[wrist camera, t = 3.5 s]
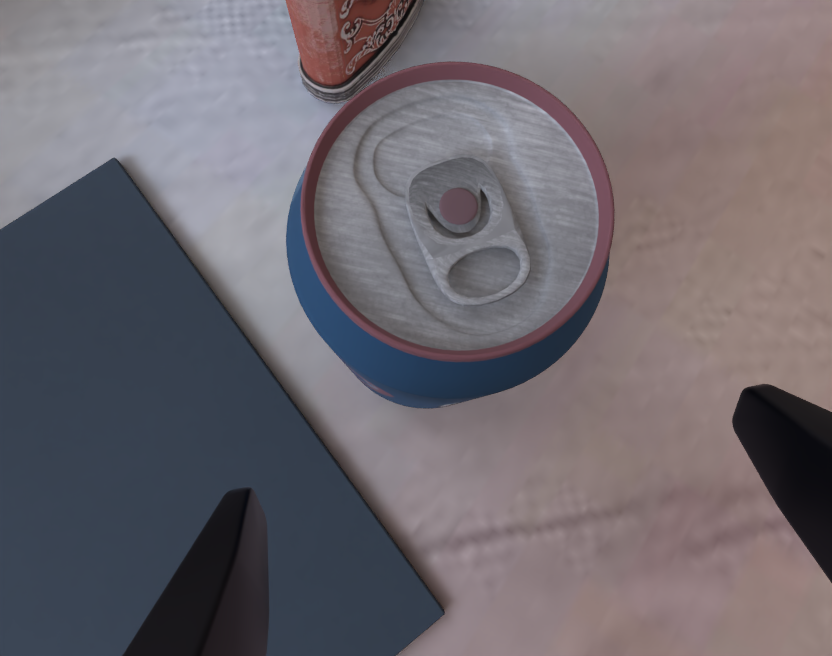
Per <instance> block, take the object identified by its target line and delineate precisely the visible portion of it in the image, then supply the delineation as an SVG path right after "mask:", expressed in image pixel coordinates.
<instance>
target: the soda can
mask: <svg viewBox="0 0 832 656" xmlns="http://www.w3.org/2000/svg"><path fill="white" fill-rule="evenodd" d="M613 232H614V199H613V193H612V187H611V182H610V178H609V174H608V171H607V168H606V165H605V163H604V160H603V158H602V156H601V153H600V151H599V149H598V147H597V146H596V144H595V142H594V140H593V139H592V137H591V135H590V134H589V132H588V131H587V130H586V128H585V127H584V125H583V124H582V123H581V122H580V120H579V119H578V118H577V117H576V116H575V115H574V114H573V113H572V112H571V111H570V109H569V108H568V107H567V106H565V105H564V104H563V103H562V102H561V101H560V100H559V99H557V98H556V97H555V96H553V95H552V94H551V93H549V92H548V91H547V90H545V89H544V88H542V87H540V86H539V85H537V84H535V83H534V82H532V81H530V80H528V79H526V78H524V77H522V76H519V75H517V74H514V73H512V72H509V71H507V70H503V69H500V68H497V67H493V66H488V65H483V64H477V63H468V62H437V63H430V64H424V65H419V66H414V67H411V68H407V69H404V70H401V71H398V72H395V73H393V74H390V75H388V76H386V77H384V78H382V79H380V80H378V81H376V82H374V83H373V84H371V85H369V86H368V87H366V88H365V89H363V90H362V91H361V92H359V93H358V94H357V95H355V96H354V97H353V98H352V99H351V100H349V101H348V102H347V103H346V104H345V105H344V106H343V107H342V108H341V109H340V110H339V111H338V112H337V113H336V114H335V116H334V117H333V118H332V119H331V121H330V122H329V123H328V125H327V126H326V128H325V129H324V131H323V132H322V134H321V135H320V137H319V139H318V141H317V142H316V145H315V147H314V149H313V151H312V153H311V156H310V158H309V161H308V164H307V166H306V168H305V170H304V171H303V173H302V175H301V178H300V180H299V182H298V184H297V187H296V190H295V192H294V195H293V198H292V202H291V205H290V210H289V215H288V222H287V234H286V246H287V258H288V265H289V270H290V274H291V278H292V282H293V285H294V288H295V291H296V294H297V296H298V299H299V301H300V303H301V305H302V307H303V309H304V311H305V313H306V315H307V317H308V318H309V320H310V322H311V323H312V325H313V326H314V328H315V329H316V331H317V332H318V333H319V335H320V336H321V337H322V338H323V340H324V341H325V342H326V343H327V344H328V345H329V347H330V348H331V349H332V350H333V351H334V352H335V353H336V354H337V355H338V357H339V358H340V359H341V360H342V361H343V362H344V363H345V364H346V365H347V367H348V368H349V369H350V370H351V371H352V372H353V373H354V374H355V376H356V377H357V378H358V379H359V380H360V381H361V382H362V383H363V384H364V385H366V386H367V387H368V388H369V389H370V390H372V391H373V392H375V393H376V394H378V395H379V396H381V397H383V398H385V399H387V400H389V401H392V402H394V403H397V404H400V405H404V406H408V407H415V408H439V407H445V406H449V405H453V404H457V403H461V402H464V401H468V400H472V399H476V398H479V397H483V396H487V395H490V394H494V393H498V392H501V391H504V390H507V389H510V388H513V387H515V386H517V385H519V384H522V383H524V382H526V381H528V380H529V379H531V378H533V377H535V376H537V375H538V374H540V373H541V372H543V371H544V370H546V369H547V368H548V367H550V366H551V365H552V364H554V363H555V362H556V361H557V360H558V359H559V358H561V357H562V356H563V355H564V354H565V353H566V352H567V351H568V350H569V349H570V347H571V346H572V345H573V344H574V343H575V342H576V341H577V339H578V338H579V337H580V335H581V334H582V333H583V331H584V330H585V328H586V327H587V325H588V323H589V322H590V320H591V318H592V316H593V314H594V312H595V310H596V308H597V306H598V303H599V301H600V298H601V295H602V292H603V289H604V286H605V282H606V278H607V272H608V266H609V254H610V248H611V244H612V238H613Z"/></svg>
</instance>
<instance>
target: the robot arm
mask: <svg viewBox="0 0 832 656" xmlns="http://www.w3.org/2000/svg"><path fill="white" fill-rule="evenodd" d="M732 423H733V428H734V431H735V433H736V435H737V436H738V438H739V440H740V442H741V443H742V445H743V447H744V449H745V450H746V452H747V454H748V456H749V457H750V459H751V461H752V463H753V465H754V466H755V468H756V470H757V472H758V473H759V475H760V477H761V479H762V480H763V482H764V484H765V486H766V487H767V489H768V491H769V493H770V494H771V496H772V498H773V499H774V501H775V503H776V504H777V506H778V507H779V509H780V510H781V512H782V513H783V515H784V516H785V518H786V519H787V520H788V522H789V523H790V525H791V526H792V527H793V529H794V530H795V532H796V533H797V535H798V536H799V537H800V539H801V540H802V542H803V543H804V544H805V546H806V547H807V549H808V550H809V552H810V553H811V554H812V556H813V557H814V559H815V560H816V561H817V563H818V564H819V566H820V567H821V568H822V570H823V571H824V573H825V574H826V576H827V577H828V578H829V580H830V581H831V583H832V412H830V411H828V410H826V409H823V408H821V407H819V406H817V405H815V404H812V403H810V402H808V401H806V400H803V399H801V398H799V397H797V396H795V395H792V394H790V393H788V392H786V391H783V390H781V389H779V388H777V387H775V386H772V385H769V384H761V385H756V386H751V387H747V388H745V389H744V390H743V391H742V392H741V395H740V398H739V401H738V403H737V406H736V409H735V412H734V415H733V418H732ZM268 629H269V575H268V540H267V521H266V517H265V514H264V511H263V509H262V507H261V505H260V502H259V500H258V498H257V496H256V494H255V492H254V490H253V489H252V488H251V487H243V488H238V489H233V490H230V491H228V492H227V493H226V494H225V495H224V496H223V498H222V499H221V501H220V502H219V504H218V506H217V507H216V509H215V510H214V512H213V513H212V515H211V517H210V518H209V520H208V521H207V523H206V524H205V526H204V528H203V529H202V531H201V532H200V534H199V536H198V537H197V539H196V540H195V542H194V543H193V545H192V547H191V548H190V550H189V551H188V553H187V554H186V556H185V558H184V559H183V561H182V562H181V564H180V565H179V567H178V569H177V570H176V572H175V573H174V575H173V576H172V578H171V580H170V581H169V583H168V584H167V586H166V588H165V589H164V591H163V592H162V594H161V595H160V597H159V599H158V600H157V602H156V603H155V605H154V606H153V608H152V610H151V611H150V613H149V614H148V616H147V617H146V619H145V621H144V622H143V624H142V625H141V627H140V628H139V630H138V632H137V633H136V635H135V636H134V638H133V640H132V641H131V643H130V644H129V646H128V647H127V649H126V651H125V652H124V654H123V655H122V656H266V653H267V641H268Z"/></svg>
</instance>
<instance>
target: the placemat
mask: <svg viewBox="0 0 832 656" xmlns="http://www.w3.org/2000/svg"><path fill="white" fill-rule="evenodd" d="M243 487H251V488H252V489H253V490H254V492H255V494H256V496H257V498H258V500H259V502H260V505H261V507H262V509H263V511H264V514H265V517H266V521H267V540H268V575H269V629H268V641H267V653H266V656H396V655H397V654H398V653H399V652H400V651H402V650H403V649H404V648H405V647H406V646H407V645H409V644H410V643H411V642H412V641H413V640H415V639H416V638H417V637H418V636H419V635H420V634H422V633H423V632H424V631H425V630H426V629H428V628H429V627H430V626H431V625H432V624H433V623H435V622H436V621H437V620H438V619H439V618H441V617H442V616H443V615H444V614H445V613H444V609H443V608H442V607H441V605H440V604H439V602H438V601H437V600H436V598H435V597H434V596H433V594H432V593H431V591H430V590H429V589H428V587H427V586H426V585H425V583H424V582H423V580H422V579H421V578H420V576H419V575H418V573H417V572H416V571H415V569H414V568H413V567H412V565H411V564H410V562H409V561H408V560H407V558H406V557H405V556H404V554H403V553H402V551H401V550H400V549H399V547H398V546H397V544H396V543H395V542H394V540H393V539H392V538H391V536H390V535H389V533H388V532H387V531H386V529H385V528H384V527H383V525H382V524H381V522H380V521H379V520H378V518H377V517H376V516H375V514H374V513H373V511H372V510H371V509H370V507H369V506H368V504H367V503H366V502H365V500H364V499H363V498H362V496H361V495H360V493H359V492H358V491H357V489H356V488H355V487H354V485H353V484H352V482H351V481H350V480H349V478H348V477H347V475H346V474H345V473H344V471H343V470H342V469H341V467H340V466H339V464H338V463H337V462H336V460H335V459H334V458H333V456H332V455H331V453H330V452H329V451H328V449H327V448H326V447H325V445H324V444H323V442H322V441H321V440H320V438H319V437H318V435H317V434H316V433H315V431H314V430H313V429H312V427H311V426H310V424H309V423H308V422H307V420H306V419H305V418H304V416H303V415H302V413H301V412H300V411H299V409H298V408H297V407H296V405H295V404H294V402H293V401H292V400H291V398H290V397H289V395H288V394H287V393H286V391H285V390H284V389H283V387H282V386H281V384H280V383H279V382H278V380H277V379H276V378H275V376H274V375H273V373H272V372H271V371H270V369H269V368H268V366H267V365H266V364H265V362H264V361H263V360H262V358H261V357H260V355H259V354H258V353H257V351H256V350H255V349H254V347H253V346H252V344H251V343H250V342H249V340H248V339H247V338H246V336H245V335H244V333H243V332H242V331H241V329H240V328H239V326H238V325H237V324H236V322H235V321H234V320H233V318H232V317H231V315H230V314H229V313H228V311H227V310H226V309H225V307H224V306H223V304H222V303H221V302H220V300H219V299H218V298H217V296H216V295H215V293H214V292H213V291H212V289H211V288H210V286H209V285H208V284H207V282H206V281H205V280H204V278H203V277H202V275H201V274H200V273H199V271H198V270H197V269H196V267H195V266H194V264H193V263H192V262H191V260H190V259H189V257H188V256H187V255H186V253H185V252H184V251H183V249H182V248H181V246H180V245H179V244H178V242H177V241H176V240H175V238H174V237H173V235H172V234H171V233H170V231H169V230H168V229H167V227H166V226H165V224H164V223H163V222H162V220H161V219H160V217H159V216H158V215H157V213H156V212H155V211H154V209H153V208H152V206H151V205H150V204H149V202H148V201H147V200H146V198H145V197H144V195H143V194H142V193H141V191H140V190H139V188H138V187H137V186H136V184H135V183H134V182H133V180H132V179H131V177H130V176H129V175H128V173H127V172H126V171H125V169H124V168H123V166H122V165H121V164H120V162H119V161H118V160H117V159H116V158H112V159H111V160H109V161H108V162H106V163H104V164H103V165H101V166H100V167H98V168H97V169H95V170H93V171H92V172H90V173H89V174H87V175H86V176H84V177H82V178H81V179H79V180H78V181H76V182H75V183H73V184H71V185H70V186H68V187H67V188H65V189H64V190H62V191H60V192H59V193H57V194H56V195H54V196H52V197H51V198H49V199H48V200H46V201H45V202H43V203H41V204H40V205H38V206H37V207H35V208H34V209H32V210H30V211H29V212H27V213H26V214H24V215H23V216H21V217H19V218H18V219H16V220H15V221H13V222H12V223H10V224H8V225H7V226H5V227H4V228H2V229H1V230H0V656H122V655H123V654H124V652H125V651H126V649H127V647H128V646H129V644H130V643H131V641H132V640H133V638H134V636H135V635H136V633H137V632H138V630H139V628H140V627H141V625H142V624H143V622H144V621H145V619H146V617H147V616H148V614H149V613H150V611H151V610H152V608H153V606H154V605H155V603H156V602H157V600H158V599H159V597H160V595H161V594H162V592H163V591H164V589H165V588H166V586H167V584H168V583H169V581H170V580H171V578H172V576H173V575H174V573H175V572H176V570H177V569H178V567H179V565H180V564H181V562H182V561H183V559H184V558H185V556H186V554H187V553H188V551H189V550H190V548H191V547H192V545H193V543H194V542H195V540H196V539H197V537H198V536H199V534H200V532H201V531H202V529H203V528H204V526H205V524H206V523H207V521H208V520H209V518H210V517H211V515H212V513H213V512H214V510H215V509H216V507H217V506H218V504H219V502H220V501H221V499H222V498H223V496H224V495H225V494H226V493H227V492H228V491H230V490H233V489H238V488H243Z"/></svg>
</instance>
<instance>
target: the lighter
mask: <svg viewBox="0 0 832 656" xmlns="http://www.w3.org/2000/svg"><path fill="white" fill-rule="evenodd" d="M423 2H424V0H286V3H287V7H288V11H289V15H290V19H291V23H292V26H293V30H294V34H295V38H296V42H297V45H298V49H299V53H300V54H299V58H298V66H299V71H300V74H301V78H302V82H303V84H304V86H305V88H306V89H307V91H308V92H309V93H310V94H312V95H313V96H314V97H315V98H317V99H319V100H322V101H324V102H329V103H340V102H345V101H347V100H349V99H350V98H352V97H353V96H354V95H355V94H357V93H358V92H359V91H360V90H361V89H362V88H363V87H364V86H365V85H366V84H367V83H368V82H369V81H370V80H371V79H372V78H373V77H374V76H375V75H377V74H378V72H379V71H380V70H381V69H382V68H383V66H384V65H385V64H386V63H387V61H388V60H389V59H390V58H391V57H392V55H393V54H394V53H395V52H396V51H397V49H398V48H399V47H400V45H401V43H402V42H403V40H404V38H405V37H406V35H407V33H408V32H409V30H410V28H411V27H412V25H413V23H414V22H415V20H416V18H417V16H418V13H419V11H420V9H421V6H422V4H423Z"/></svg>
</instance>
